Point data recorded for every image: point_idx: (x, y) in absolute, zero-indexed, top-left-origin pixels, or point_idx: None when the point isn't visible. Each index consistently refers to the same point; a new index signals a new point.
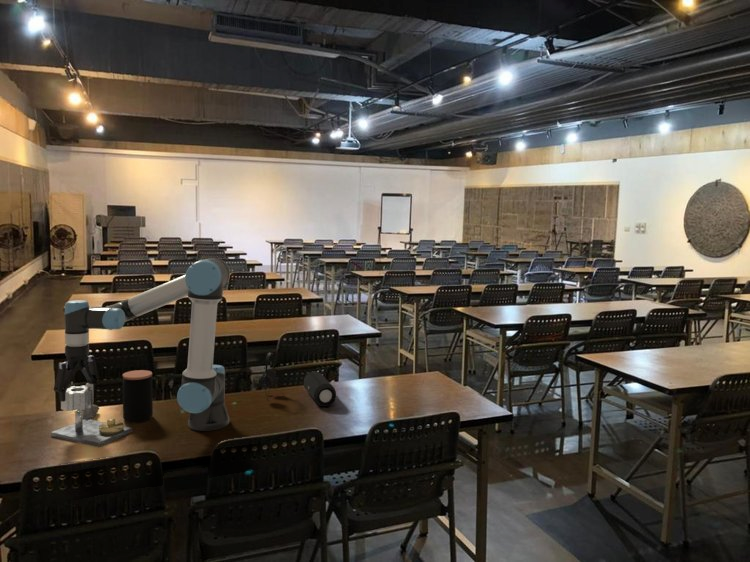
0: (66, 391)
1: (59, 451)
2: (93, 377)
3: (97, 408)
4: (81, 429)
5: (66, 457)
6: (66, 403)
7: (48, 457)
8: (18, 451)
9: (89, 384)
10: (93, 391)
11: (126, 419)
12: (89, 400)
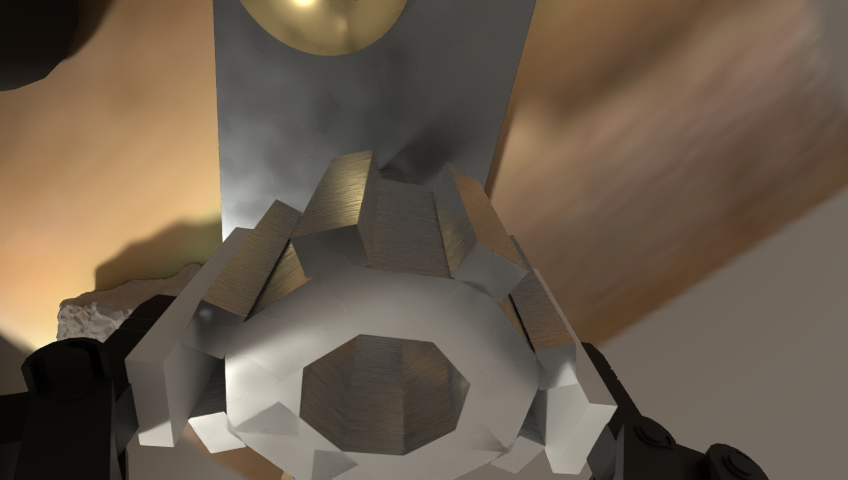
0: (578, 428)
1: (632, 113)
2: (13, 477)
3: (84, 298)
4: (393, 171)
5: (720, 8)
6: (558, 311)
7: (711, 113)
8: (633, 287)
9: (168, 394)
10: (167, 296)
11: (73, 5)
12: (372, 185)
